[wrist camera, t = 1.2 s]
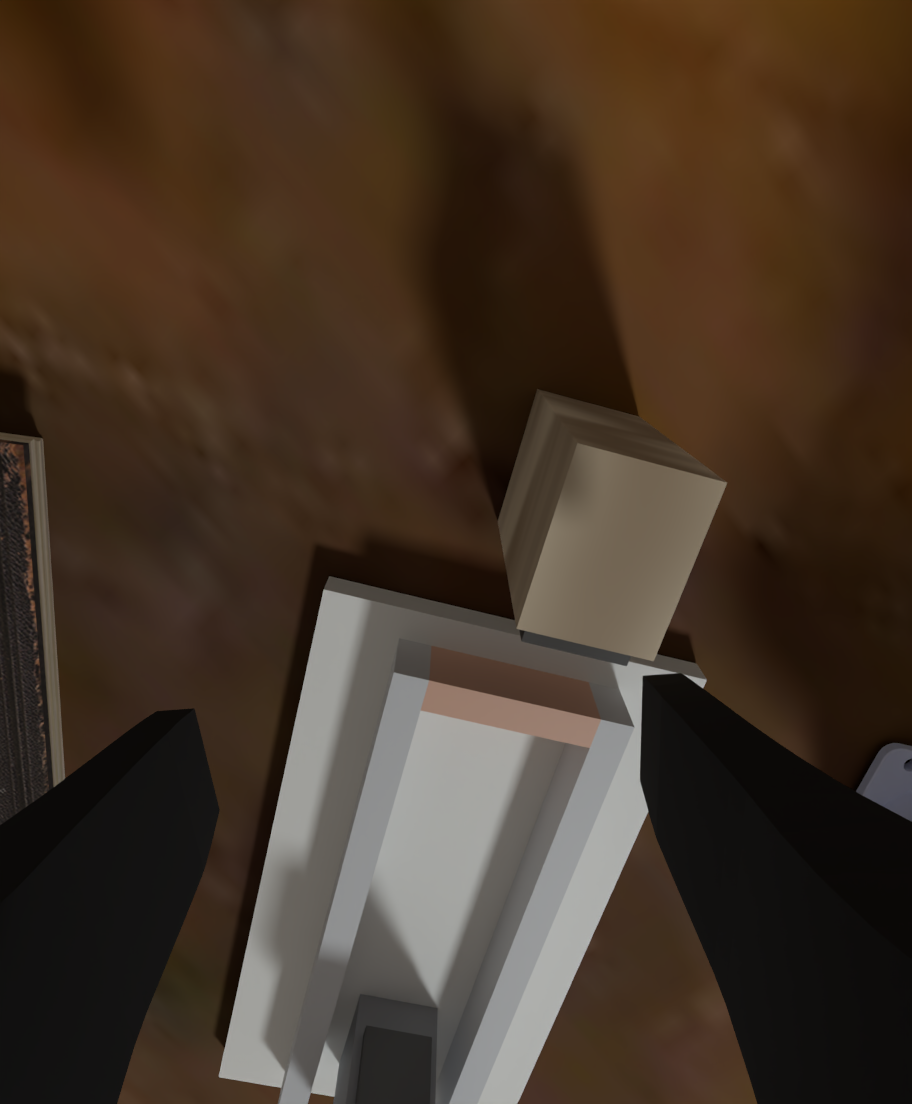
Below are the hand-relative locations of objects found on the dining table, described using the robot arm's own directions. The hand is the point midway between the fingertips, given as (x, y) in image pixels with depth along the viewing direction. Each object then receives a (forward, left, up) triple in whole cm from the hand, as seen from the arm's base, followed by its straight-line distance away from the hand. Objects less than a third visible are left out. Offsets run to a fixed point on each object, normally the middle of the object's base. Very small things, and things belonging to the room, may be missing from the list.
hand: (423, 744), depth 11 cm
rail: (-3, +13, -11) cm, 17 cm away
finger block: (-3, -3, -11) cm, 11 cm away
